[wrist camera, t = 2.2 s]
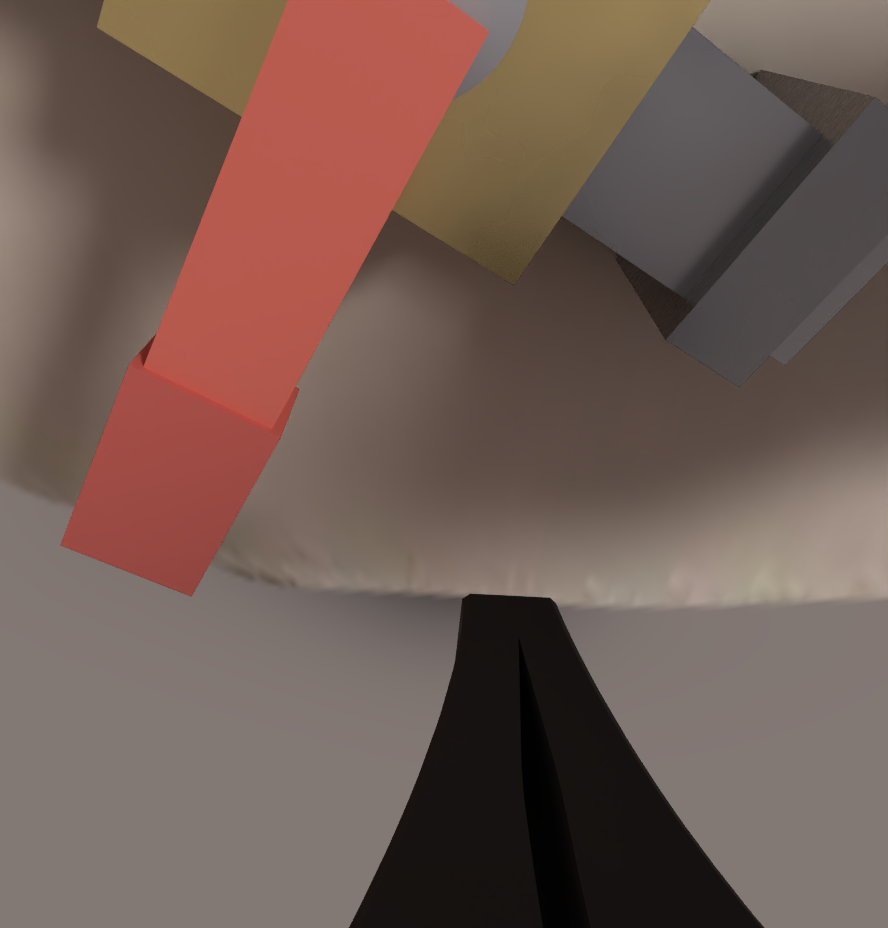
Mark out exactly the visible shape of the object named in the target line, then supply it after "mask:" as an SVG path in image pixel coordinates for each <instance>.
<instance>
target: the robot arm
mask: <svg viewBox="0 0 888 928" xmlns="http://www.w3.org/2000/svg"><path fill="white" fill-rule="evenodd" d="M349 928H764V927H763V926H762V925H761V923H760V922H759V921H758V920H757V919H756V917H754V915H753V914H752V913H751V911H750V910H749V909H748V908H747V906H746V905H745V904H744V903H743V901H742V900H741V899H740V898H739V897H738V895H737V894H736V893H735V891H734V890H733V889H732V887H731V886H730V885H729V884H728V882H727V881H726V880H725V879H724V877H723V876H722V875H721V874H720V872H719V871H718V870H717V869H716V867H715V866H714V865H713V863H712V862H711V860H710V859H709V858H708V856H707V855H706V854H705V852H704V851H703V850H702V848H701V847H700V846H699V844H698V843H697V842H696V840H695V839H694V838H693V836H692V835H691V834H690V832H689V831H688V830H687V828H686V827H685V825H684V824H683V822H682V821H681V820H680V818H679V817H678V816H677V814H676V813H675V811H674V810H673V808H672V807H671V805H670V804H669V802H668V801H667V800H666V798H665V797H664V795H663V794H662V792H661V791H660V789H659V788H658V786H657V785H656V783H655V782H654V780H653V779H652V777H651V776H650V774H649V772H648V771H647V769H646V768H645V766H644V765H643V763H642V762H641V760H640V759H639V757H638V756H637V754H636V752H635V751H634V749H633V748H632V746H631V744H630V743H629V741H628V739H627V738H626V736H625V735H624V733H623V731H622V730H621V728H620V726H619V724H618V723H617V721H616V720H615V718H614V716H613V714H612V712H611V711H610V709H609V707H608V706H607V704H606V702H605V701H604V699H603V697H602V695H601V694H600V692H599V690H598V688H597V686H596V684H595V683H594V681H593V679H592V677H591V675H590V673H589V672H588V670H587V668H586V666H585V664H584V662H583V660H582V658H581V656H580V654H579V652H578V650H577V648H576V646H575V644H574V642H573V640H572V638H571V636H570V634H569V632H568V630H567V627H566V625H565V623H564V621H563V619H562V616H561V614H560V612H559V609H558V607H557V605H556V603H555V602H554V601H553V600H552V599H551V598H543V597H523V596H503V595H484V594H469V595H468V596H466V597H465V598H463V599H462V607H461V615H460V624H459V632H458V641H457V650H456V660H455V664H454V668H453V672H452V676H451V679H450V683H449V686H448V690H447V693H446V697H445V700H444V704H443V707H442V711H441V715H440V717H439V720H438V723H437V726H436V729H435V732H434V734H433V737H432V740H431V743H430V745H429V748H428V751H427V754H426V757H425V759H424V762H423V765H422V768H421V770H420V773H419V776H418V778H417V781H416V784H415V786H414V788H413V791H412V793H411V796H410V798H409V801H408V803H407V805H406V808H405V810H404V812H403V815H402V817H401V819H400V821H399V824H398V826H397V828H396V831H395V833H394V835H393V837H392V840H391V842H390V844H389V846H388V849H387V851H386V853H385V855H384V857H383V859H382V861H381V863H380V866H379V868H378V870H377V872H376V874H375V876H374V878H373V880H372V882H371V885H370V886H369V889H368V891H367V893H366V895H365V897H364V899H363V901H362V903H361V905H360V907H359V909H358V911H357V913H356V915H355V917H354V919H353V921H352V923H351V925H350V927H349Z"/></svg>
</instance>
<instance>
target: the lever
mask: <svg viewBox="0 0 888 928" xmlns="http://www.w3.org/2000/svg"><path fill="white" fill-rule="evenodd" d="M526 4H527V0H288V1H287V4H286V6H285V9H284V11H283V14H282V16H281V19H280V22H279V24H278V27H277V29H276V32H275V34H274V37H273V39H272V42H271V44H270V47H269V49H268V52H267V54H266V57H265V60H264V62H263V65H262V67H261V70H260V72H259V75H258V77H257V80H256V82H255V85H254V87H253V90H252V93H251V95H250V98H249V100H248V103H247V105H246V108H245V110H244V113H243V115H242V118H241V120H240V123H239V125H238V128H237V131H236V133H235V136H234V138H233V141H232V143H231V146H230V148H229V151H228V153H227V156H226V158H225V161H224V164H223V166H222V169H221V171H220V174H219V176H218V179H217V181H216V184H215V186H214V189H213V191H212V194H211V196H210V199H209V202H208V204H207V207H206V209H205V212H204V214H203V217H202V219H201V222H200V224H199V227H198V229H197V232H196V235H195V237H194V240H193V242H192V245H191V247H190V250H189V252H188V255H187V257H186V260H185V262H184V265H183V267H182V270H181V273H180V275H179V278H178V280H177V283H176V285H175V288H174V290H173V293H172V295H171V298H170V300H169V303H168V306H167V308H166V311H165V313H164V316H163V318H162V321H161V323H160V326H159V328H158V331H157V333H156V335H155V336H154V337H153V338H152V339H151V340H150V341H149V343H148V344H147V345H146V346H145V347H144V348H143V349H142V351H141V352H140V353H139V354H138V355H137V356H136V357H135V359H134V360H133V361H132V362H131V363H130V364H129V366H128V368H127V371H126V374H125V376H124V379H123V382H122V384H121V387H120V389H119V392H118V395H117V397H116V400H115V403H114V405H113V408H112V410H111V413H110V416H109V418H108V421H107V424H106V426H105V429H104V432H103V434H102V437H101V439H100V442H99V445H98V447H97V450H96V453H95V455H94V458H93V460H92V463H91V466H90V468H89V471H88V474H87V476H86V479H85V482H84V484H83V487H82V489H81V492H80V495H79V497H78V500H77V503H76V505H75V508H74V510H73V513H72V516H71V518H70V521H69V524H68V526H67V529H66V532H65V534H64V537H63V539H62V542H61V546H64V547H66V548H69V549H71V550H74V551H76V552H79V553H81V554H84V555H87V556H89V557H92V558H94V559H97V560H99V561H102V562H104V563H107V564H110V565H112V566H115V567H117V568H120V569H122V570H125V571H127V572H130V573H132V574H135V575H137V576H140V577H143V578H145V579H148V580H150V581H153V582H156V583H158V584H161V585H163V586H166V587H168V588H171V589H173V590H176V591H178V592H181V593H184V594H186V595H189V596H192V595H193V593H194V591H195V589H196V588H197V586H198V584H199V582H200V580H201V579H202V577H203V575H204V573H205V571H206V570H207V568H208V566H209V564H210V563H211V561H212V559H213V557H214V555H215V554H216V552H217V550H218V548H219V547H220V545H221V543H222V541H223V539H224V538H225V536H226V534H227V532H228V531H229V529H230V527H231V525H232V523H233V522H234V520H235V518H236V516H237V514H238V513H239V511H240V509H241V507H242V506H243V504H244V502H245V500H246V498H247V497H248V495H249V493H250V491H251V490H252V488H253V486H254V484H255V482H256V481H257V479H258V477H259V475H260V473H261V472H262V470H263V468H264V466H265V465H266V463H267V461H268V459H269V457H270V456H271V454H272V452H273V450H274V449H275V447H276V445H277V443H278V441H279V440H280V438H281V435H282V433H283V430H284V427H285V425H286V422H287V420H288V417H289V415H290V412H291V409H292V407H293V404H294V402H295V399H296V397H297V394H298V391H299V389H298V388H296V387H295V386H296V384H297V382H298V381H299V379H300V377H301V375H302V373H303V371H304V370H305V368H306V366H307V364H308V362H309V360H310V359H311V357H312V355H313V353H314V351H315V349H316V348H317V346H318V344H319V342H320V340H321V339H322V337H323V335H324V333H325V331H326V329H327V328H328V326H329V324H330V322H331V320H332V318H333V317H334V315H335V313H336V311H337V309H338V307H339V306H340V304H341V302H342V300H343V298H344V297H345V295H346V293H347V291H348V289H349V287H350V286H351V284H352V282H353V280H354V278H355V276H356V275H357V273H358V271H359V269H360V267H361V265H362V264H363V262H364V260H365V258H366V256H367V255H368V253H369V251H370V249H371V247H372V245H373V244H374V242H375V240H376V238H377V236H378V234H379V233H380V231H381V229H382V227H383V225H384V223H385V222H386V220H387V218H388V216H389V214H390V212H391V211H392V209H393V207H394V205H395V203H396V202H397V200H398V198H399V196H400V194H401V192H402V191H403V189H404V187H405V185H406V183H407V181H408V180H409V178H410V176H411V174H412V172H413V170H414V169H415V167H416V165H417V163H418V161H419V160H420V158H421V156H422V154H423V152H424V150H425V149H426V147H427V145H428V143H429V141H430V139H431V138H432V136H433V134H434V132H435V130H436V128H437V127H438V125H439V123H440V121H441V119H442V118H443V116H444V114H445V112H446V110H447V108H448V107H449V105H450V103H451V101H452V100H453V99H455V98H457V97H459V96H461V95H463V94H465V93H467V92H468V91H470V90H471V89H472V88H474V87H475V86H477V85H478V84H480V83H481V82H482V81H483V80H484V79H485V78H486V77H487V76H488V75H489V74H490V73H491V72H492V71H493V70H494V69H495V67H496V66H497V65H498V64H499V63H500V62H501V60H502V59H503V57H504V56H505V54H506V53H507V51H508V49H509V48H510V46H511V44H512V42H513V40H514V38H515V36H516V34H517V32H518V30H519V27H520V24H521V21H522V19H523V16H524V12H525V8H526Z"/></svg>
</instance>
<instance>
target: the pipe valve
mask: <svg viewBox="0 0 888 928" xmlns="http://www.w3.org/2000/svg"><path fill="white" fill-rule="evenodd" d="M287 1H288V0H104V2H103V5H102V9H101V13H100V17H99V20H98V24H97V28H99V29H100V30H102V31H103V32H105V33H107V34H108V35H110V36H111V37H113V38H115V39H116V40H118V41H120V42H121V43H123V44H124V45H126V46H128V47H129V48H131V49H132V50H134V51H136V52H137V53H139V54H141V55H142V56H144V57H145V58H147V59H149V60H150V61H152V62H153V63H155V64H157V65H158V66H160V67H162V68H163V69H165V70H166V71H168V72H170V73H171V74H173V75H174V76H176V77H178V78H179V79H181V80H183V81H184V82H186V83H187V84H189V85H191V86H192V87H194V88H195V89H197V90H199V91H200V92H202V93H204V94H205V95H207V96H208V97H210V98H212V99H213V100H215V101H217V102H218V103H220V104H221V105H223V106H225V107H226V108H228V109H229V110H231V111H233V112H234V113H236V114H238V115H239V116H241V117H242V115H243V113H244V110H245V108H246V105H247V103H248V100H249V98H250V95H251V93H252V90H253V87H254V85H255V82H256V80H257V77H258V75H259V72H260V70H261V67H262V65H263V62H264V60H265V57H266V54H267V52H268V49H269V47H270V44H271V42H272V39H273V37H274V34H275V32H276V29H277V27H278V24H279V22H280V19H281V16H282V14H283V11H284V9H285V6H286V4H287ZM709 2H710V0H527V4H526V8H525V12H524V16H523V19H522V21H521V24H520V27H519V30H518V32H517V34H516V36H515V38H514V40H513V42H512V44H511V46H510V48H509V49H508V51H507V53H506V54H505V56H504V57H503V59H502V60H501V62H500V63H499V64H498V65H497V66H496V67H495V69H494V70H493V71H492V72H491V73H490V74H489V75H488V76H487V77H486V78H485V79H484V80H483V81H482V82H481V83H480V84H478V85H477V86H475V87H474V88H472V89H471V90H470V91H468V92H467V93H465V94H463V95H461V96H459V97H457V98H455V99H453V100H452V101H451V103H450V105H449V107H448V108H447V110H446V112H445V114H444V116H443V118H442V119H441V121H440V123H439V125H438V127H437V128H436V130H435V132H434V134H433V136H432V138H431V139H430V141H429V143H428V145H427V147H426V149H425V150H424V152H423V154H422V156H421V158H420V160H419V161H418V163H417V165H416V167H415V169H414V170H413V172H412V174H411V176H410V178H409V180H408V181H407V183H406V185H405V187H404V189H403V191H402V192H401V194H400V196H399V198H398V200H397V202H396V203H395V205H394V207H393V209H392V210H393V211H394V212H396V213H398V214H399V215H401V216H402V217H404V218H406V219H407V220H409V221H410V222H412V223H414V224H415V225H417V226H419V227H420V228H422V229H423V230H425V231H427V232H428V233H430V234H431V235H433V236H435V237H436V238H438V239H440V240H441V241H443V242H444V243H446V244H448V245H449V246H451V247H452V248H454V249H456V250H457V251H459V252H461V253H462V254H464V255H465V256H467V257H469V258H470V259H472V260H473V261H475V262H477V263H478V264H480V265H482V266H483V267H485V268H486V269H488V270H490V271H491V272H493V273H494V274H496V275H498V276H499V277H501V278H503V279H504V280H506V281H507V282H509V283H511V284H512V285H514V284H515V283H516V281H517V280H518V278H519V277H520V276H521V274H522V273H523V271H524V270H525V268H526V267H527V265H528V264H529V263H530V261H531V260H532V258H533V257H534V255H535V254H536V252H537V251H538V250H539V248H540V247H541V245H542V244H543V242H544V241H545V239H546V238H547V236H548V235H549V234H550V232H551V231H552V229H553V228H554V226H555V225H556V223H557V222H558V221H559V219H560V218H561V216H562V217H564V218H565V219H567V220H568V221H570V222H571V223H573V224H574V225H576V226H577V227H579V228H580V229H582V230H583V231H585V232H586V233H588V234H589V235H591V236H592V237H594V238H595V239H597V240H598V241H600V242H601V243H603V244H604V245H606V246H607V247H609V248H610V249H612V250H613V251H614V252H616V253H617V254H619V256H618V257H617V258H616V261H617V262H618V264H619V265H620V267H621V269H622V270H623V272H624V273H625V275H626V277H627V278H628V280H629V282H630V283H631V285H632V286H633V288H634V290H635V291H636V293H637V294H638V296H639V298H640V299H641V301H642V303H643V304H644V306H645V307H646V309H647V311H648V312H649V314H650V315H651V317H652V319H653V320H654V322H655V324H656V325H657V327H658V328H659V330H660V332H661V333H662V335H663V336H664V338H665V340H666V341H668V342H670V343H671V344H673V345H674V346H676V347H677V348H679V349H680V350H682V351H684V352H685V353H687V354H688V355H690V356H691V357H693V358H694V359H696V360H698V361H699V362H701V363H702V364H704V365H705V366H707V367H709V368H710V369H712V370H713V371H715V372H716V373H718V374H719V375H721V376H723V377H724V378H726V379H727V380H729V381H730V382H732V383H733V384H735V385H737V386H738V387H740V386H741V385H742V384H743V382H744V381H745V380H746V379H747V378H748V377H749V376H750V375H751V374H752V373H753V372H754V371H755V370H756V369H757V368H758V367H759V366H760V365H761V364H762V363H763V362H764V361H765V360H766V359H767V358H768V357H769V356H771V357H772V358H774V359H775V360H777V361H778V362H780V363H781V364H783V365H784V366H785V365H786V364H787V363H788V362H789V361H790V360H791V359H792V358H793V357H794V356H795V355H796V354H797V353H798V352H799V351H800V350H801V349H802V348H803V347H804V346H805V345H806V344H807V343H808V342H809V341H810V340H811V339H812V338H813V337H814V336H815V335H816V334H817V333H818V332H819V331H820V330H821V329H822V328H823V327H824V326H825V325H826V324H827V323H828V322H829V321H830V320H831V319H832V318H833V317H834V316H835V315H836V314H837V313H838V312H839V311H840V310H841V309H842V308H843V307H844V306H845V305H846V304H847V303H848V302H849V301H850V300H851V299H852V298H853V297H854V296H855V295H856V294H857V293H858V292H859V291H860V290H861V289H862V288H863V287H864V285H865V284H866V283H867V282H868V281H869V280H870V279H871V278H872V277H873V276H874V275H875V274H876V273H877V272H878V271H879V270H880V269H881V268H882V267H883V266H884V265H885V264H886V263H887V262H888V108H887V107H886V106H885V105H884V104H883V103H882V102H880V101H879V100H878V99H877V98H876V97H872V96H868V95H864V94H860V93H856V92H852V91H847V90H843V89H839V88H835V87H831V86H827V85H822V84H818V83H814V82H810V81H806V80H802V79H797V78H793V77H789V76H785V75H781V74H777V73H772V72H768V71H764V70H760V71H759V72H758V73H757V75H756V76H755V77H754V78H753V77H752V76H751V75H750V74H749V73H747V72H746V71H745V70H744V69H743V68H741V67H740V66H739V65H738V64H737V63H735V62H734V61H733V60H732V59H731V58H729V57H728V56H727V55H726V54H724V53H723V52H722V51H721V50H720V49H718V48H717V47H716V46H715V45H714V44H712V43H711V42H710V41H709V40H708V39H706V38H705V37H704V36H703V35H702V34H700V33H699V32H698V31H697V30H696V29H694V28H693V27H692V26H693V25H694V23H695V22H696V21H697V19H698V18H699V16H700V15H701V13H702V12H703V10H704V9H705V7H706V6H707V5H708V3H709Z"/></svg>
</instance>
